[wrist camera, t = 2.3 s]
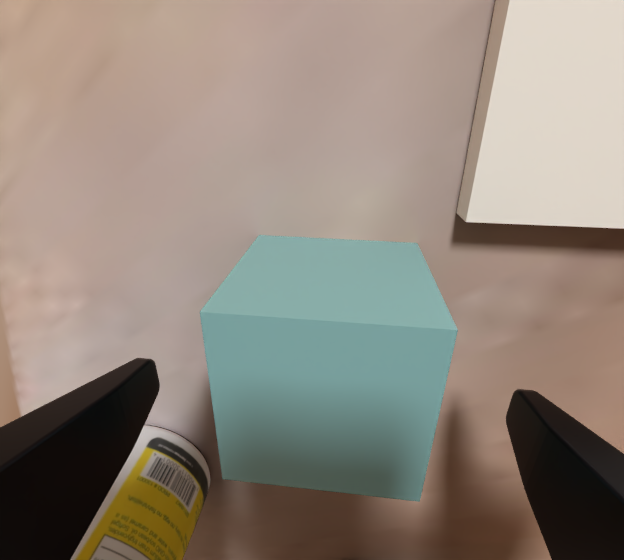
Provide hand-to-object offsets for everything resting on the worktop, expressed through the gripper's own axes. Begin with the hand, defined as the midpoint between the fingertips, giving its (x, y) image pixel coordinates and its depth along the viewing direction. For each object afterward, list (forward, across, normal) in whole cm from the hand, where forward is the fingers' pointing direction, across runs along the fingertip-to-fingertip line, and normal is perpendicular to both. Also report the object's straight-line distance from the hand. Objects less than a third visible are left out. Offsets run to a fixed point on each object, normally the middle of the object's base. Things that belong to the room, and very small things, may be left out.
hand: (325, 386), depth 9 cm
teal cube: (+4, 0, 0) cm, 4 cm away
